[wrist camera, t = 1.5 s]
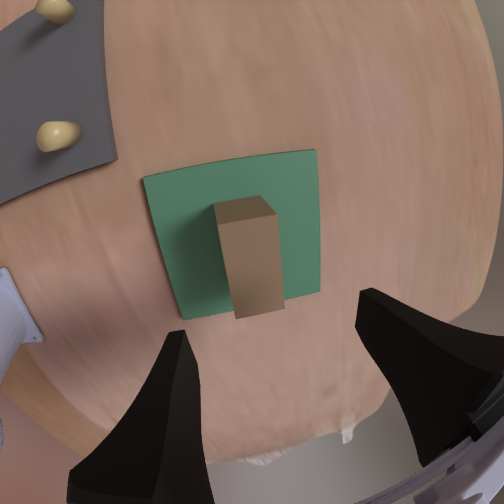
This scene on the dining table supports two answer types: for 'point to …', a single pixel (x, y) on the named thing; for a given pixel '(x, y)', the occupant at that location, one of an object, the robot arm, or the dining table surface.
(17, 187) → the chassis
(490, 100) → the dining table surface
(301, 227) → the board
